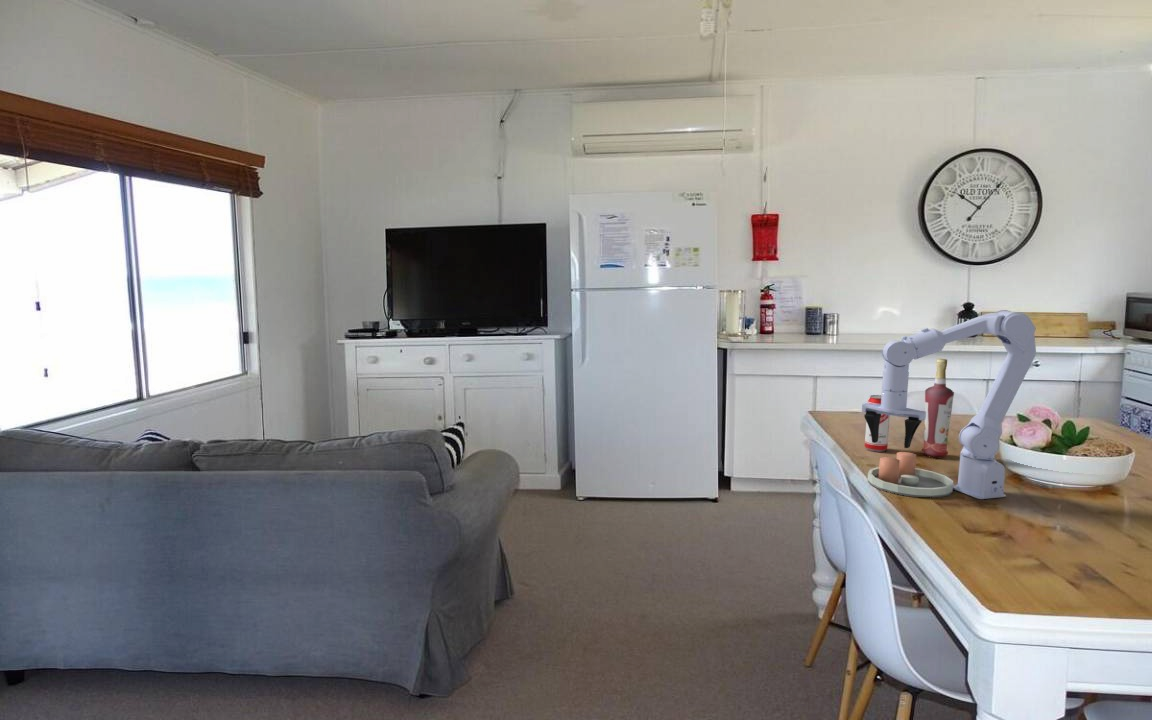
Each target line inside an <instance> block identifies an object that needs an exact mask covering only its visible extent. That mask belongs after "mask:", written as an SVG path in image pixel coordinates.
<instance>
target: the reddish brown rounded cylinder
mask: <svg viewBox="0 0 1152 720" xmlns="http://www.w3.org/2000/svg"><path fill="white" fill-rule="evenodd" d="M899 463H900V460H898V459H897V458H894V457H888V456H887V457H886V456H885V457H883V456H882V457H879V465H878V467H879V478H878V479H880V480H883V481H885V482H889V483H893V484H897V485H898V477H899Z"/></svg>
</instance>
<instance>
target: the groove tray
mask: <svg viewBox="0 0 1152 720" xmlns="http://www.w3.org/2000/svg"><path fill="white" fill-rule="evenodd" d="M878 478H879V466H877V467H873V468H870V469H869V470H868V472H867V483H868V484H869V485H870V486H871V487H873V488H875V489H876V490H879V489H880V491H882V490H884V491H883V492H885V491H887V492H886V493H889V492H891V493H890V494H892V493H895V494H894V495H897V494H899V495H898V496H902V495H904V496H903V497H909V496H910V498H918V497H930V498H929V499H935V498H934V497H939V498H945V497H948V496H951V495H952V493H953V490H954V489H953V485H954V480H953V479H951V478H950V477H949V476H947V475H944V474H941V473H938V472H935V471H932V470H927V469H922V468H916V467H915V476H913V475H901V479H900V478H898V485H897V484H893V483H889V482H885V481H883V480H880V479H878ZM931 497H932V498H931Z"/></svg>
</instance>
